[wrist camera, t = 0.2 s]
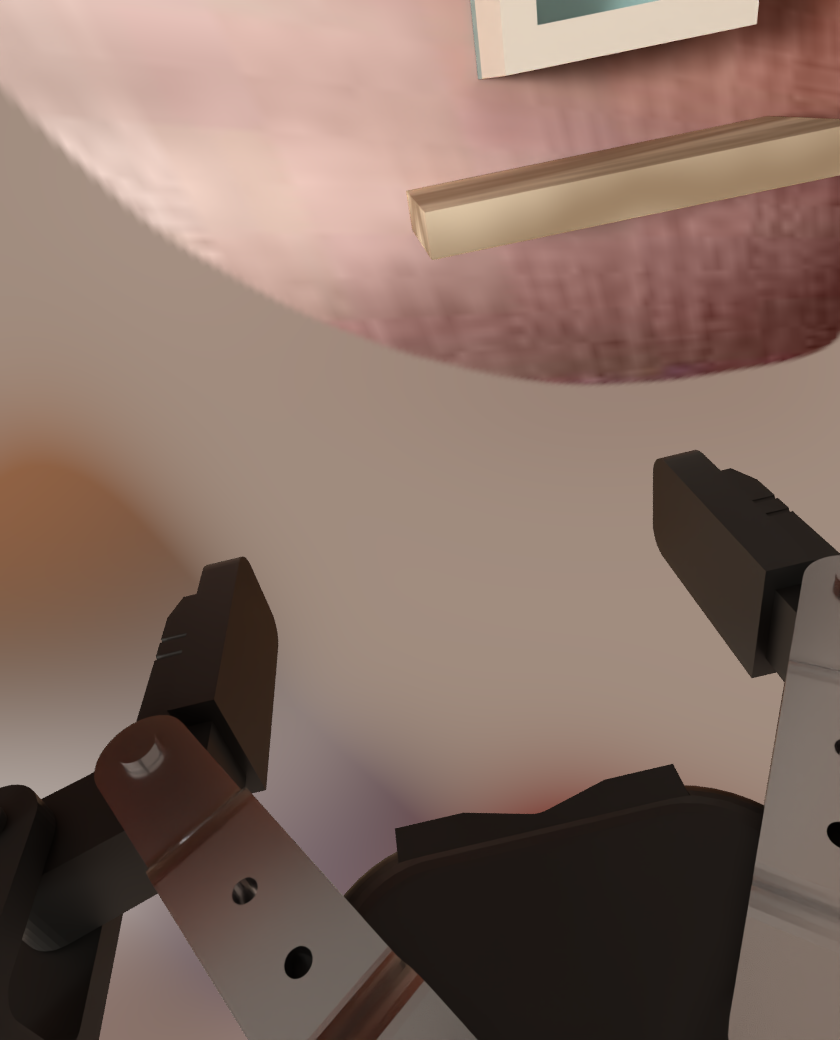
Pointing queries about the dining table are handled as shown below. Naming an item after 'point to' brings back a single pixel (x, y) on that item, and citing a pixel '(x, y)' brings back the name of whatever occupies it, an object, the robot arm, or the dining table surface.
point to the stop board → (623, 183)
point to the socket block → (590, 28)
